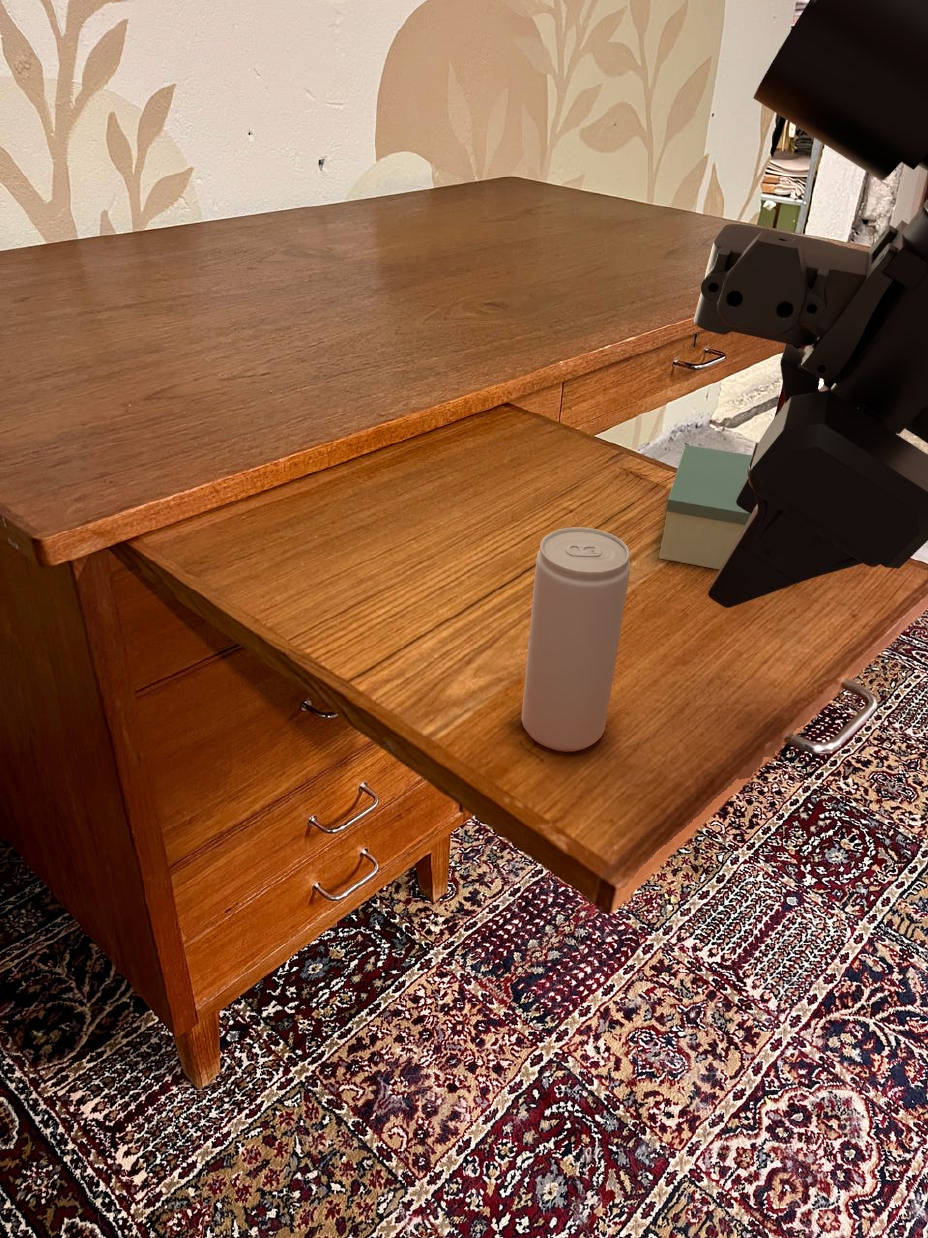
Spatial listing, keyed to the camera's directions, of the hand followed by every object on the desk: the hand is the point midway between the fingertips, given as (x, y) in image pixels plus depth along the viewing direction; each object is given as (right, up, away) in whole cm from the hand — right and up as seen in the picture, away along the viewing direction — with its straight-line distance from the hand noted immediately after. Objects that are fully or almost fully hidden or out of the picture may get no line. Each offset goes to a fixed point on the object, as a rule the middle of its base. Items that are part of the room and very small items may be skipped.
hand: (731, 550), depth 45 cm
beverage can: (-7, -10, +11) cm, 16 cm away
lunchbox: (+8, +3, +30) cm, 31 cm away
